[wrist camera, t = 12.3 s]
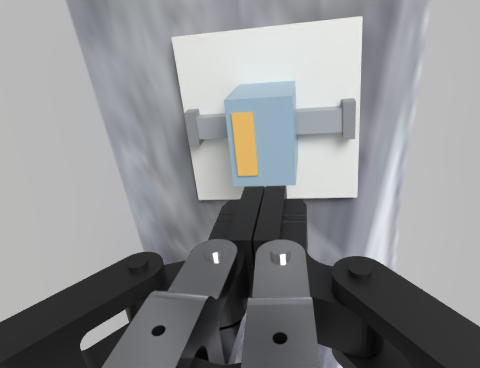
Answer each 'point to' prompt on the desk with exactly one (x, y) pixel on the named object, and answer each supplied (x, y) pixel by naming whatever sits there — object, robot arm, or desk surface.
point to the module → (263, 133)
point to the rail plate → (275, 70)
